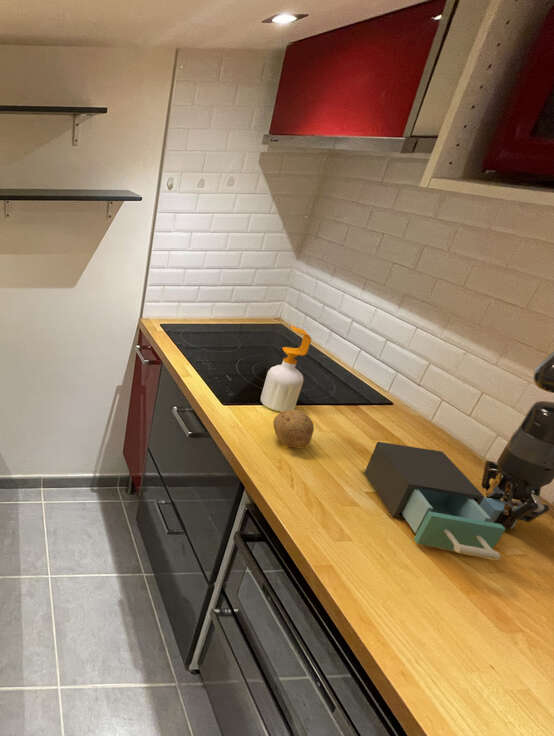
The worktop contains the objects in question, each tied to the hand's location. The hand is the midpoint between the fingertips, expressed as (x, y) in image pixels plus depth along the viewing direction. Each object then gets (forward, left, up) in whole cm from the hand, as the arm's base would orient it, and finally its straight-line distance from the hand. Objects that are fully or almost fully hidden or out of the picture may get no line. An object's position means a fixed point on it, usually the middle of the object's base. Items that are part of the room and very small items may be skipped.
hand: (493, 519), depth 93 cm
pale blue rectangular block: (0, 0, 0) cm, 0 cm away
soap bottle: (+33, -36, 0) cm, 49 cm away
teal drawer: (+14, +9, +1) cm, 16 cm away
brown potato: (+35, -16, 0) cm, 38 cm away
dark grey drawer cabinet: (+14, -2, 0) cm, 14 cm away
